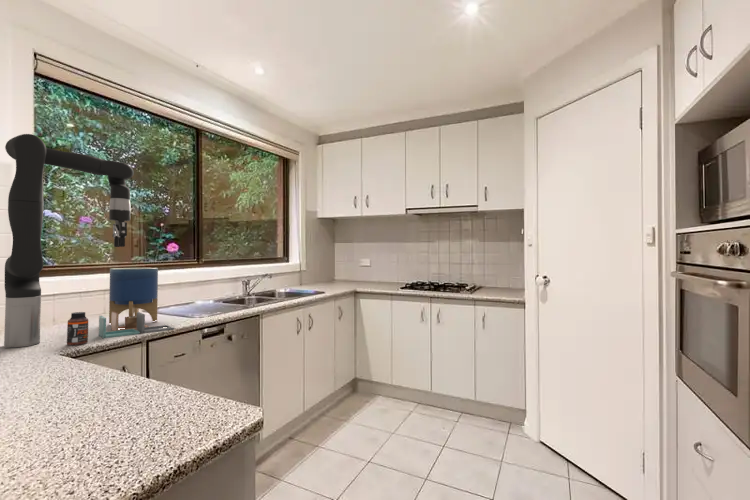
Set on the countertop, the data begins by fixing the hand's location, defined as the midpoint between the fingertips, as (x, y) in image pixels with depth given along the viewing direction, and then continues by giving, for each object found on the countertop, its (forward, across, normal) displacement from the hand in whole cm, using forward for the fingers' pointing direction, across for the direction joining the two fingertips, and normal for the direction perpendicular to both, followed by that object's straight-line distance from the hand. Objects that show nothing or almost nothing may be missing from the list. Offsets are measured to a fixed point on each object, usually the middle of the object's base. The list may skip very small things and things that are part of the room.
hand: (119, 246), depth 159 cm
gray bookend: (+36, +13, +11) cm, 40 cm away
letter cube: (+36, +3, +5) cm, 36 cm away
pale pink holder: (+36, +2, +4) cm, 36 cm away
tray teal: (+36, +13, -2) cm, 38 cm away
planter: (+36, -14, +9) cm, 40 cm away
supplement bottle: (+36, +20, -16) cm, 44 cm away
